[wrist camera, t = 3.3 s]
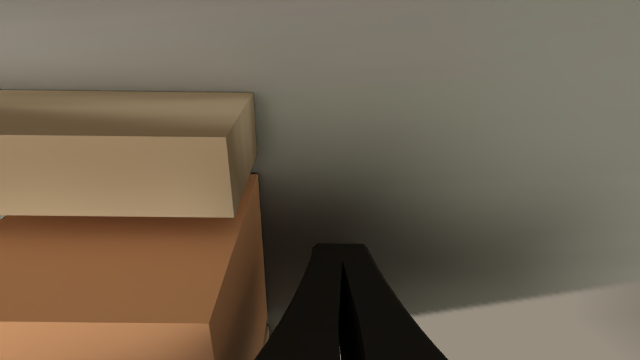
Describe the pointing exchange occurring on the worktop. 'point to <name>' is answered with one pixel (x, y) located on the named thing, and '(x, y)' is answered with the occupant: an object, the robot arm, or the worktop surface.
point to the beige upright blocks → (125, 153)
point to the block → (133, 286)
